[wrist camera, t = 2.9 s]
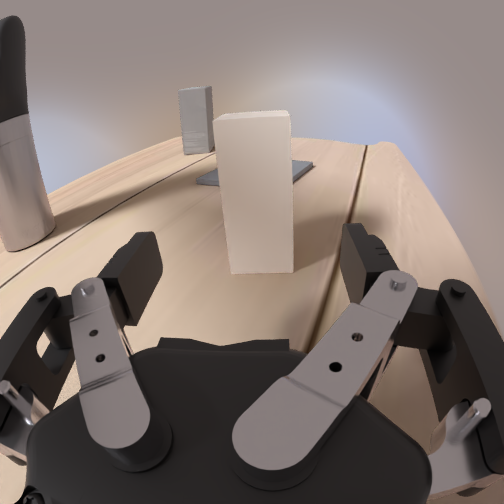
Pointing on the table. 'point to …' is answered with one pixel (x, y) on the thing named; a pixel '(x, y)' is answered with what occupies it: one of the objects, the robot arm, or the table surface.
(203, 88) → the skincare box
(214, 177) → the grey mat
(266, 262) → the cream block
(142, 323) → the table surface
